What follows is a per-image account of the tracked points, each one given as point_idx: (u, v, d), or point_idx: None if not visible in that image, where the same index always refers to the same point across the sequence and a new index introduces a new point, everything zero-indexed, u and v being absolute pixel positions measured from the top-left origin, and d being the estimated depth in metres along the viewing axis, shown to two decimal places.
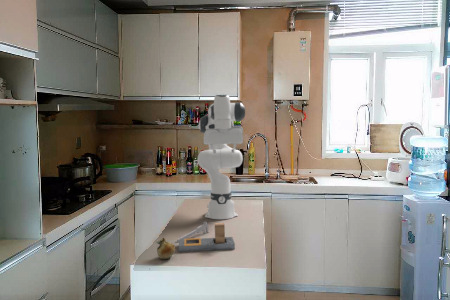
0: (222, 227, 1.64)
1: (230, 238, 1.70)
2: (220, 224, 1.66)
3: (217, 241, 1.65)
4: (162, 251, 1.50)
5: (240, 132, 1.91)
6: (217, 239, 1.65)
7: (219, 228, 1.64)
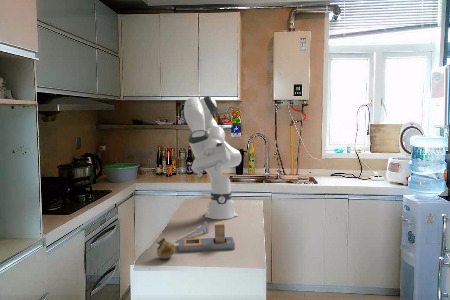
0: (222, 227, 1.64)
1: (230, 238, 1.70)
2: (220, 224, 1.66)
3: (217, 241, 1.65)
4: (162, 251, 1.50)
5: None
6: (217, 239, 1.65)
7: (219, 228, 1.64)
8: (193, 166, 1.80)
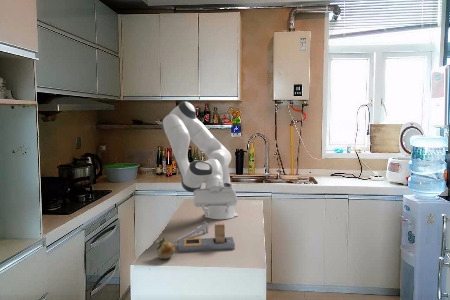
0: (222, 227, 1.64)
1: (230, 238, 1.70)
2: (220, 224, 1.66)
3: (217, 241, 1.65)
4: (162, 251, 1.50)
5: None
6: (217, 239, 1.65)
7: (219, 228, 1.64)
8: (197, 200, 1.75)
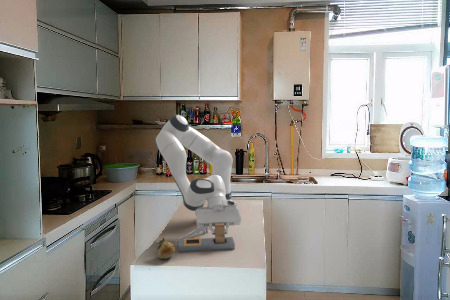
0: (222, 227, 1.64)
1: (230, 238, 1.70)
2: (220, 224, 1.66)
3: (217, 241, 1.65)
4: (162, 251, 1.50)
5: None
6: (217, 239, 1.65)
7: (219, 228, 1.64)
8: (200, 220, 1.68)
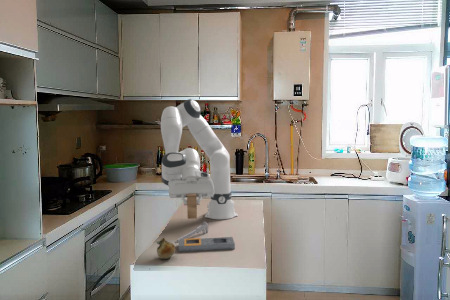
0: (194, 197, 1.62)
1: (230, 238, 1.70)
2: (192, 195, 1.64)
3: (189, 212, 1.63)
4: (162, 251, 1.50)
5: None
6: (189, 210, 1.62)
7: (191, 198, 1.62)
8: (172, 191, 1.65)
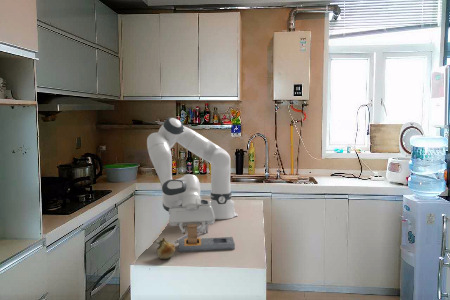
0: (194, 228, 1.63)
1: (230, 238, 1.70)
2: (193, 225, 1.65)
3: (189, 242, 1.64)
4: (162, 251, 1.50)
5: None
6: (189, 240, 1.63)
7: (192, 229, 1.63)
8: (172, 219, 1.66)
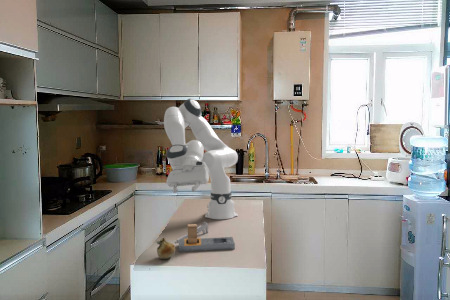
0: (194, 228, 1.63)
1: (230, 238, 1.70)
2: (193, 225, 1.65)
3: (189, 242, 1.64)
4: (162, 251, 1.50)
5: None
6: (189, 240, 1.63)
7: (192, 229, 1.63)
8: (168, 180, 1.76)
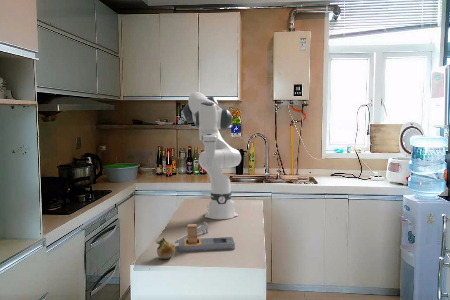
0: (194, 228, 1.63)
1: (230, 238, 1.70)
2: (193, 225, 1.65)
3: (189, 242, 1.64)
4: (162, 251, 1.50)
5: None
6: (189, 240, 1.63)
7: (192, 229, 1.63)
8: (204, 151, 1.88)
